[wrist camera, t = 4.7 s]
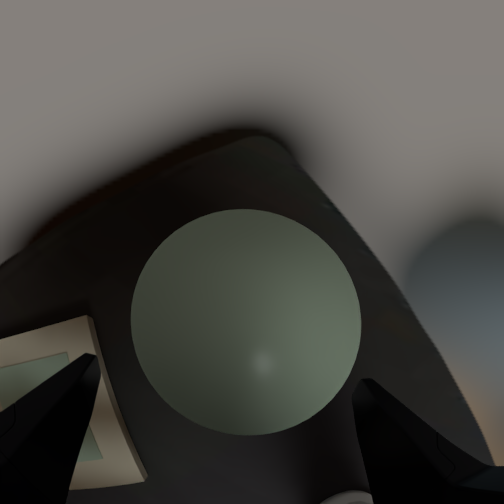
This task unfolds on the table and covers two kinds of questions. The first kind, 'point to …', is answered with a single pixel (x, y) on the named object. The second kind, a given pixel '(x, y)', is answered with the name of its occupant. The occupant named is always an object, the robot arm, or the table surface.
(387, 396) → the robot arm
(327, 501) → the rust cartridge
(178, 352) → the knob
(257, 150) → the table surface
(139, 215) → the table surface
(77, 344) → the pad
